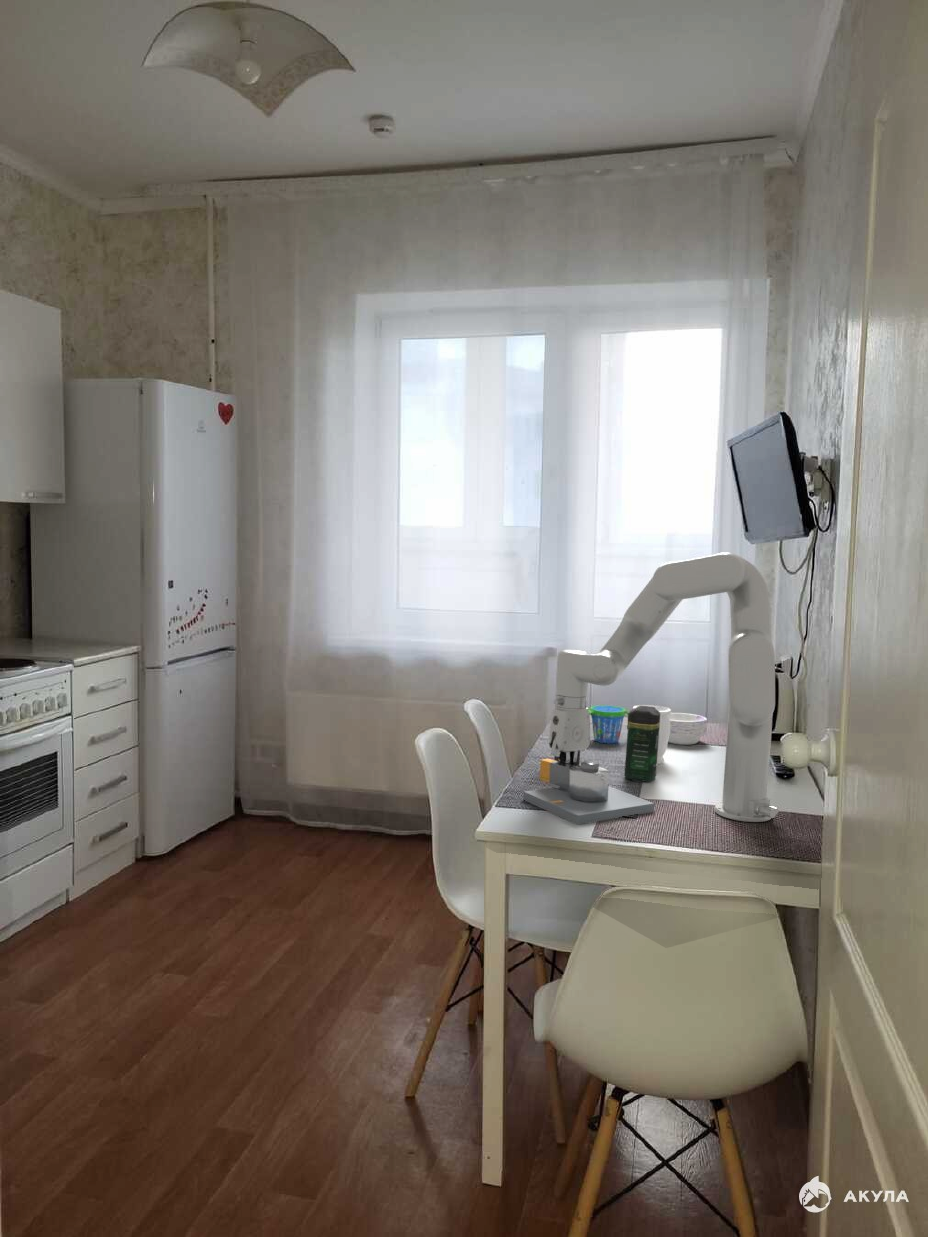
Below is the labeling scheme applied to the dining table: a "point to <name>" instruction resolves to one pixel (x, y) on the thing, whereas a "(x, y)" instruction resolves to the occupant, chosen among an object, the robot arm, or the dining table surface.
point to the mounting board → (587, 805)
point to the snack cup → (607, 723)
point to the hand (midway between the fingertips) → (566, 777)
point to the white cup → (662, 730)
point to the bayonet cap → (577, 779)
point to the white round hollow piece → (686, 728)
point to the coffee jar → (642, 744)
